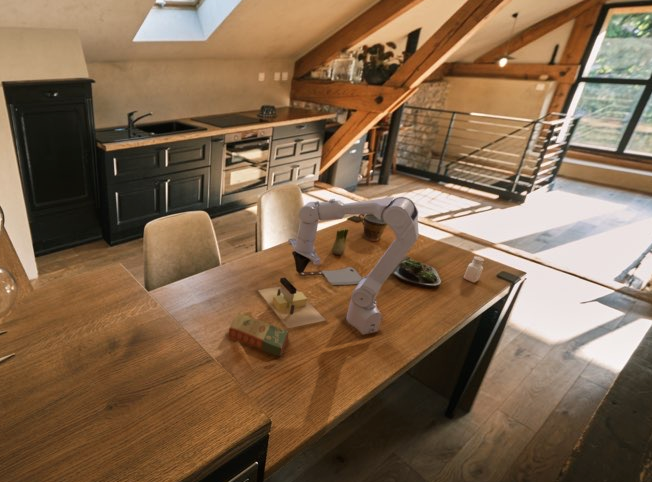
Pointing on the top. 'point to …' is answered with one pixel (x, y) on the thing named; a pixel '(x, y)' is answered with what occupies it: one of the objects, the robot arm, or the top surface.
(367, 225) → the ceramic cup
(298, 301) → the butter block
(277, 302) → the butter slice
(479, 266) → the pepper shaker
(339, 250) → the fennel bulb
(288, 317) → the board
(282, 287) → the dough scraper
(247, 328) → the carton
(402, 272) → the salad plate
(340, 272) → the kitchen cleaver
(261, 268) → the top surface
